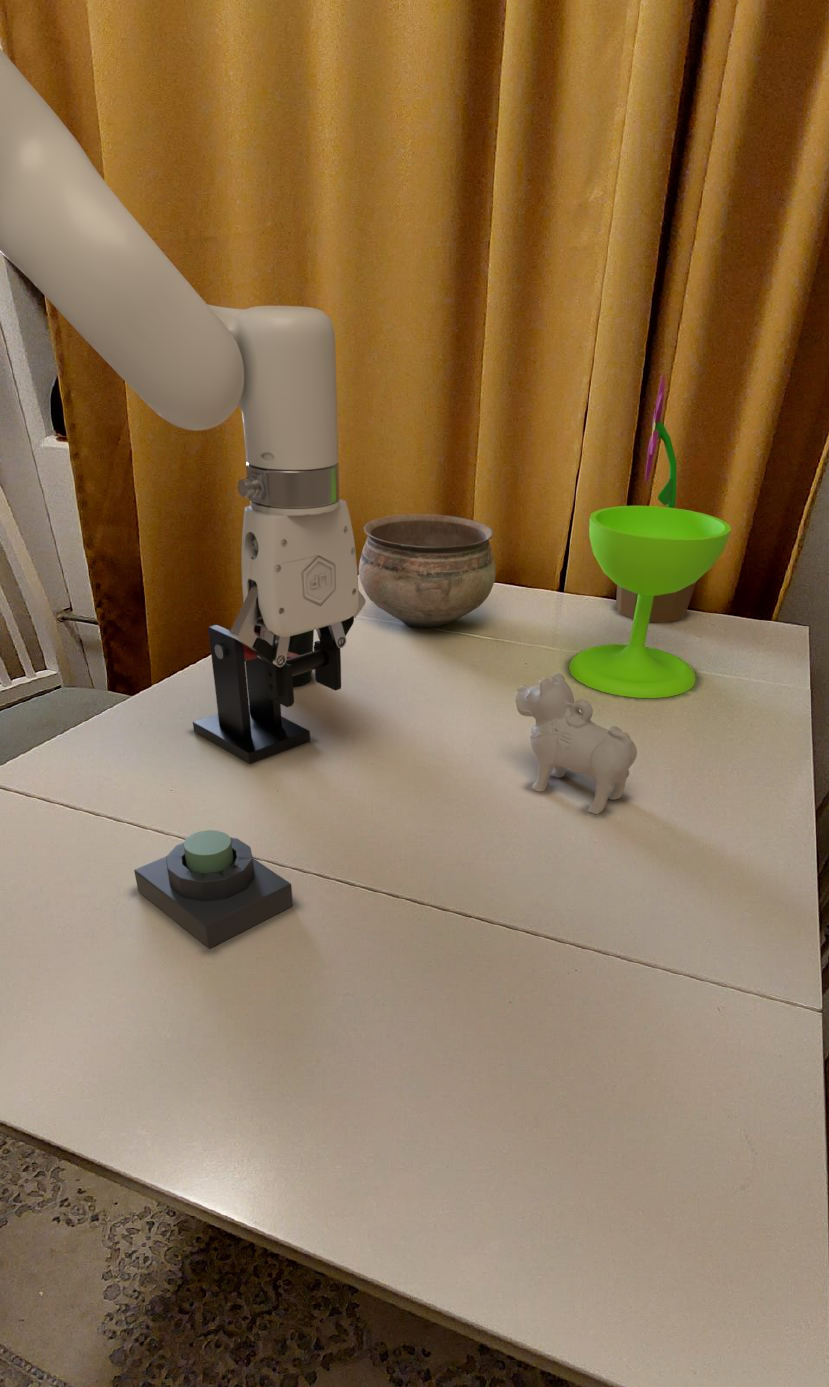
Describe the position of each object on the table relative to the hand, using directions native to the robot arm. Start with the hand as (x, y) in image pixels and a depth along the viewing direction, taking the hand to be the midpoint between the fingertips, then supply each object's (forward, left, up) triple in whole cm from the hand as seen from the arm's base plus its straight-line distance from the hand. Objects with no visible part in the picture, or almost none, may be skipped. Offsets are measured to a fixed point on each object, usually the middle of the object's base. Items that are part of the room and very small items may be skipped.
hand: (305, 692), depth 84 cm
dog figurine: (+20, +16, -8) cm, 27 cm away
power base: (+12, -20, -8) cm, 25 cm away
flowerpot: (-5, +70, -8) cm, 71 cm away
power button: (+12, -20, -4) cm, 24 cm away
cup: (-20, +13, -8) cm, 25 cm away
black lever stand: (-10, 0, -8) cm, 13 cm away
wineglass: (+7, +47, -8) cm, 48 cm away
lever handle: (-5, 0, +1) cm, 5 cm away
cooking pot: (-24, +41, -8) cm, 48 cm away
